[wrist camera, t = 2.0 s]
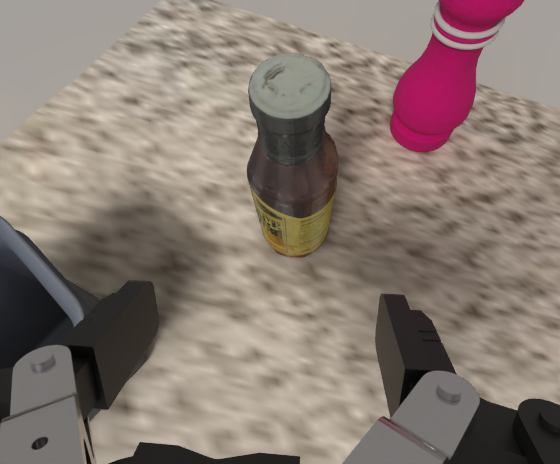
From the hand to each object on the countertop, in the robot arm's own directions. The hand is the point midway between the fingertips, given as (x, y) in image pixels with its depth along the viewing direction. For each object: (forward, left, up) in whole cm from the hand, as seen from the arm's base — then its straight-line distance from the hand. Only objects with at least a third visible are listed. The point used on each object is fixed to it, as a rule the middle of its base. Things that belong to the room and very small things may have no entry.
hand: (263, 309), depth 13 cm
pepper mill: (-15, -22, -21) cm, 34 cm away
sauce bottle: (-1, -11, -21) cm, 23 cm away
